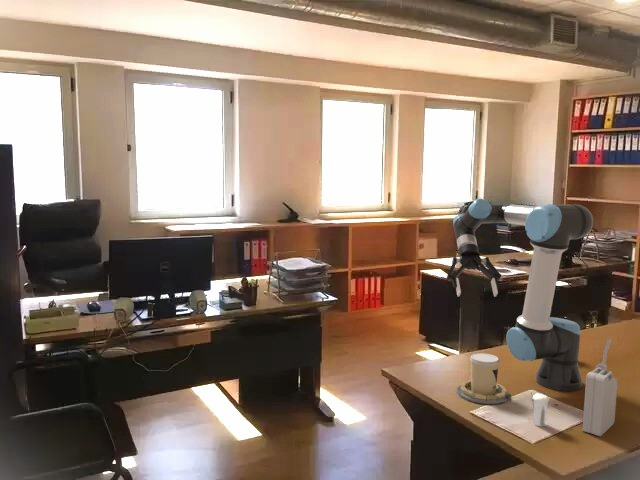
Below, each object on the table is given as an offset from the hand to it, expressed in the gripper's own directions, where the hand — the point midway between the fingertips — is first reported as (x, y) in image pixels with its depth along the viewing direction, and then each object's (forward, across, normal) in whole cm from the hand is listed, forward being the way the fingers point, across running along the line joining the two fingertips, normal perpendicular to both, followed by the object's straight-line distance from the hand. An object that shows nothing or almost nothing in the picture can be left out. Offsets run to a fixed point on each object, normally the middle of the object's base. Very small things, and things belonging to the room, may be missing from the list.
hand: (477, 294), depth 201 cm
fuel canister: (+52, -25, +10) cm, 58 cm away
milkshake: (+51, -7, +9) cm, 53 cm away
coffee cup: (+35, +3, -6) cm, 36 cm away
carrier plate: (+36, +3, -6) cm, 36 cm away
